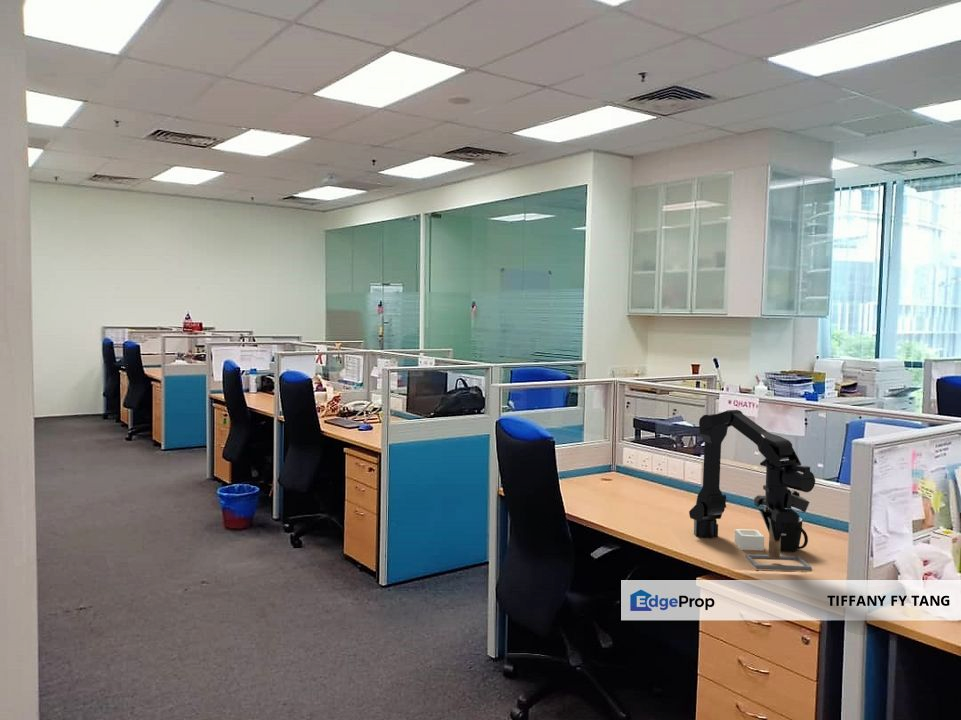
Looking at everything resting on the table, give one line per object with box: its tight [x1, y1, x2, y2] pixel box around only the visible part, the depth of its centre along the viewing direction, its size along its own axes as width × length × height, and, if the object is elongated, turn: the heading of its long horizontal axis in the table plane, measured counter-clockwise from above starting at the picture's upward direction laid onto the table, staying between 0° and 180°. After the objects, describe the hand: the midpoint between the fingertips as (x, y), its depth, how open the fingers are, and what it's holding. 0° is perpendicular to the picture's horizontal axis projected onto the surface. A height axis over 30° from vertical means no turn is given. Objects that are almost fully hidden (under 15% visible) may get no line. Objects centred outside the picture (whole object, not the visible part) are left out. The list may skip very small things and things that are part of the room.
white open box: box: [733, 528, 765, 551], centre depth 209 cm, size 7×7×5 cm
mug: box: [780, 517, 809, 553], centre depth 206 cm, size 12×9×10 cm
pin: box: [768, 527, 781, 560], centre depth 195 cm, size 3×3×9 cm
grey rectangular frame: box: [745, 553, 813, 573], centre depth 195 cm, size 15×9×2 cm, turn 86°
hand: (774, 538), depth 195 cm, fingers closed on pin, 3 cm apart
